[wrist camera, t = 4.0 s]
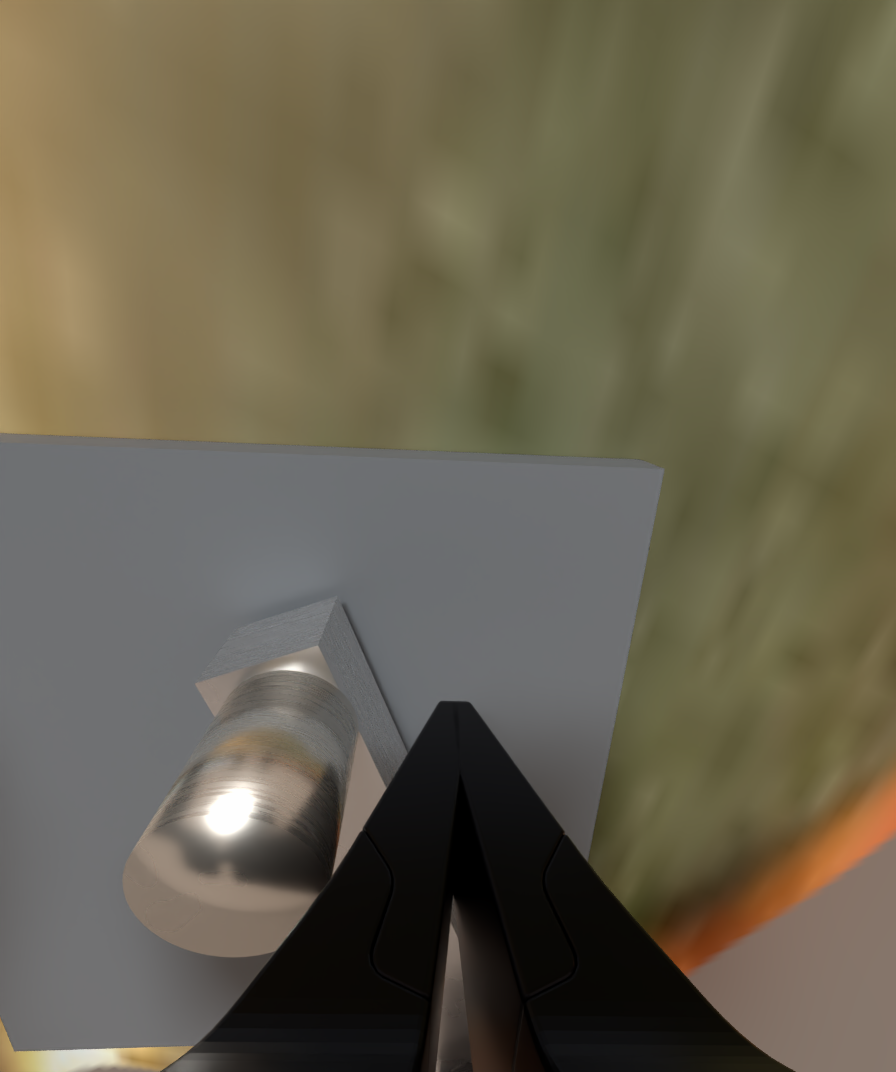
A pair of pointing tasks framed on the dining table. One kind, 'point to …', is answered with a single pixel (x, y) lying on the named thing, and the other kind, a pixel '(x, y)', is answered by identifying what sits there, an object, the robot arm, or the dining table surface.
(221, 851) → the swing arm
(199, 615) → the slate board
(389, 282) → the dining table surface
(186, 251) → the dining table surface
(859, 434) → the dining table surface
